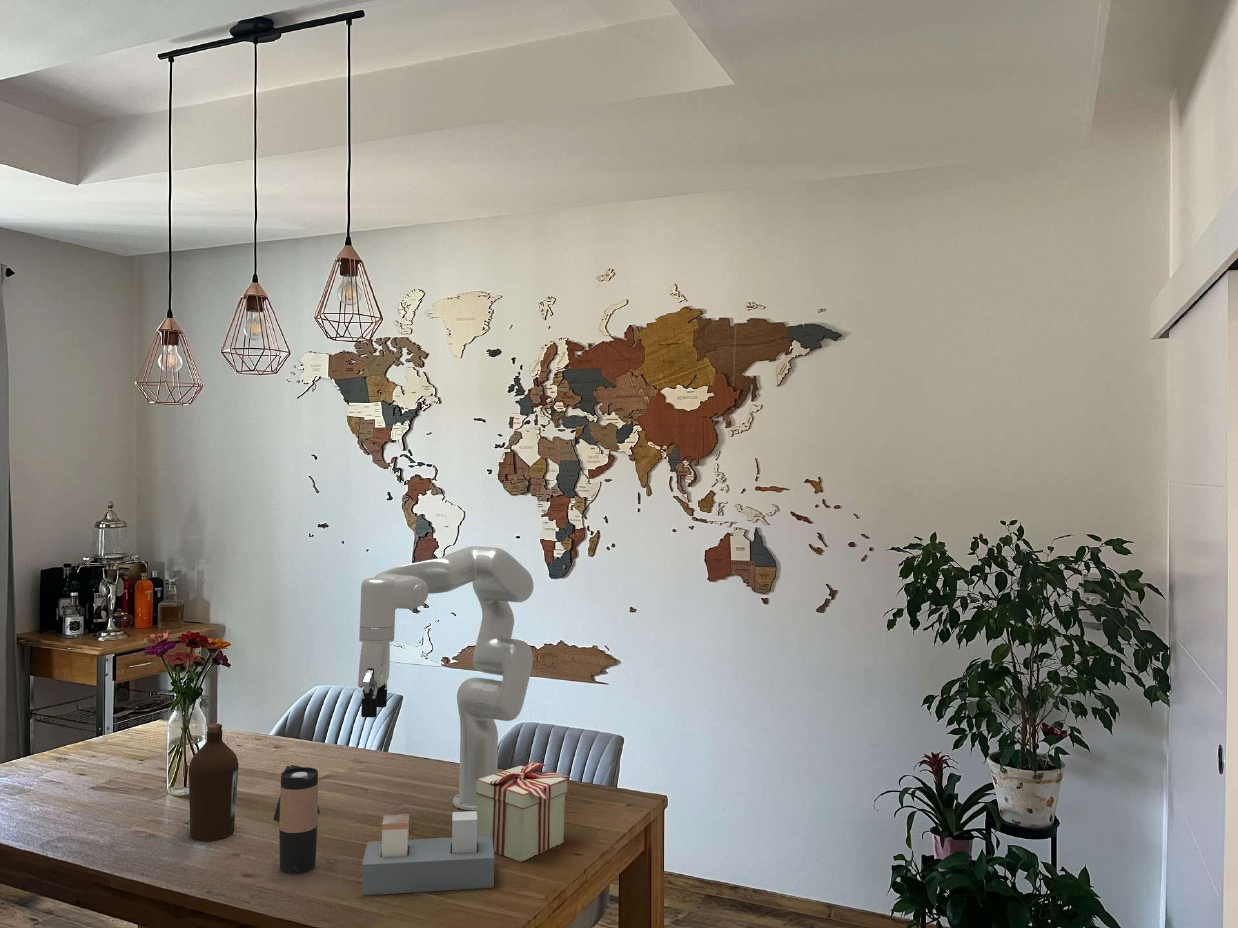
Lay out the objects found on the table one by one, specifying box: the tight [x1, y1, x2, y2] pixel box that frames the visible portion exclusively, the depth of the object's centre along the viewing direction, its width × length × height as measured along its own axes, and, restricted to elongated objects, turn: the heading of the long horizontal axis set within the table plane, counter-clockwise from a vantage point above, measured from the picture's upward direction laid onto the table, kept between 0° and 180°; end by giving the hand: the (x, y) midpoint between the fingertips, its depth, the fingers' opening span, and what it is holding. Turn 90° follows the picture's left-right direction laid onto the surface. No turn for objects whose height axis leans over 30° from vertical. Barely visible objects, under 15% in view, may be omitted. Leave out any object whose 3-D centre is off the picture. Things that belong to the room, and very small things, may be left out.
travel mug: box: [278, 766, 319, 875], centre depth 199 cm, size 8×8×20 cm
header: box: [361, 810, 495, 896], centre depth 194 cm, size 26×12×13 cm, turn 100°
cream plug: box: [381, 813, 410, 857], centre depth 193 cm, size 5×5×12 cm
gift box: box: [476, 761, 571, 863], centre depth 213 cm, size 17×18×17 cm
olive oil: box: [187, 723, 240, 842], centre depth 217 cm, size 11×11×25 cm
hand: (374, 711), depth 208 cm, fingers open, 9 cm apart
